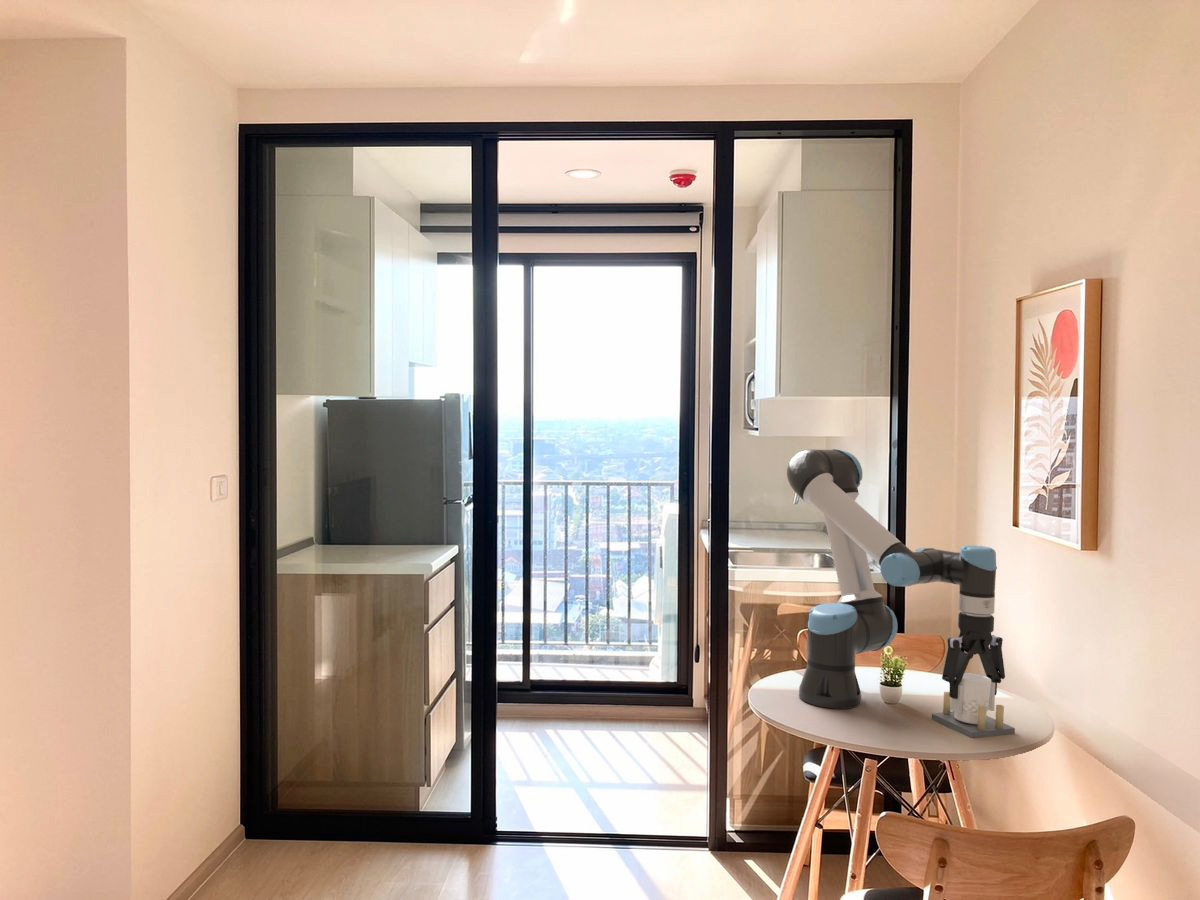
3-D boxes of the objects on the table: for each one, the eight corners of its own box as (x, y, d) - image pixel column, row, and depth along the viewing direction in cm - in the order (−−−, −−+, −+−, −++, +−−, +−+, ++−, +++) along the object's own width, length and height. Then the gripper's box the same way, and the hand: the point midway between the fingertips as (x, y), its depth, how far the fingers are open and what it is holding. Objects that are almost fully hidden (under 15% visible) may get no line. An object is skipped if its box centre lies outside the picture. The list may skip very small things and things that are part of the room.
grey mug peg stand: (971, 737, 184) (972, 710, 184) (931, 718, 197) (932, 692, 197) (1014, 733, 188) (1015, 706, 188) (972, 714, 200) (973, 689, 200)
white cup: (994, 726, 188) (997, 682, 188) (959, 724, 188) (962, 680, 188) (979, 716, 196) (982, 673, 196) (945, 713, 196) (948, 671, 196)
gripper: (950, 618, 185) (946, 719, 185) (1025, 615, 192) (1021, 712, 192) (927, 611, 192) (923, 708, 193) (1000, 608, 199) (996, 702, 199)
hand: (972, 710), depth 192 cm, fingers open, 8 cm apart
